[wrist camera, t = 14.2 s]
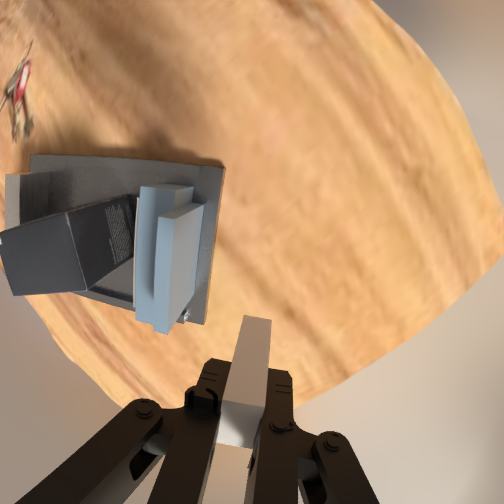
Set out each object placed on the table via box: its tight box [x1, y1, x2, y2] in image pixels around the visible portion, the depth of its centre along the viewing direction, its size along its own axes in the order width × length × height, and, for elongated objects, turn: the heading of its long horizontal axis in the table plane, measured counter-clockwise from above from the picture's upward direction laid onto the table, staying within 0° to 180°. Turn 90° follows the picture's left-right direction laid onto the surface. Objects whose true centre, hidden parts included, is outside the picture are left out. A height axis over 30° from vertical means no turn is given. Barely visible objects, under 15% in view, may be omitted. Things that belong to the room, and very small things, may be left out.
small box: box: [0, 194, 136, 296], centre depth 23 cm, size 11×6×10 cm, turn 99°
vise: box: [5, 155, 226, 325], centre depth 26 cm, size 16×25×6 cm, turn 81°
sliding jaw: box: [133, 183, 204, 335], centre depth 24 cm, size 12×5×8 cm, turn 171°
